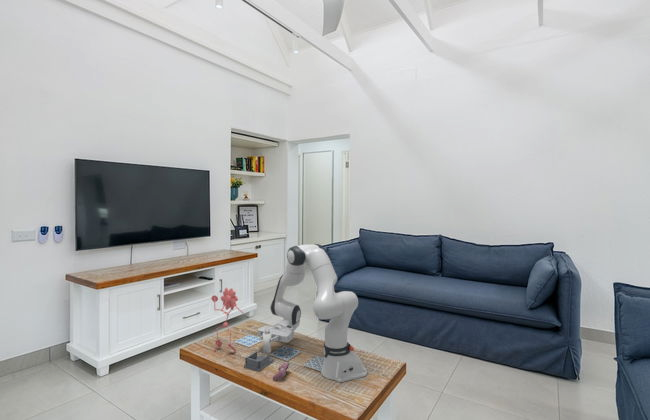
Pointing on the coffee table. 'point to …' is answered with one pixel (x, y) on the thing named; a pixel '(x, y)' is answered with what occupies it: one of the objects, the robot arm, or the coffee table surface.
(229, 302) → the pink flower
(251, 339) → the coffee table surface
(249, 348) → the coffee table surface
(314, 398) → the coffee table surface
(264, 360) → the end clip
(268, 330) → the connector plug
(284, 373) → the pink irregular piece
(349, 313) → the robot arm
